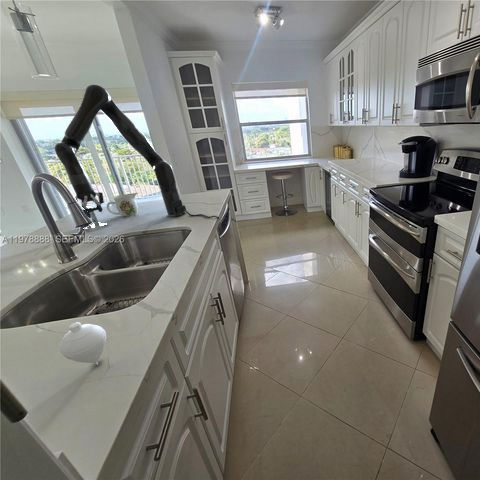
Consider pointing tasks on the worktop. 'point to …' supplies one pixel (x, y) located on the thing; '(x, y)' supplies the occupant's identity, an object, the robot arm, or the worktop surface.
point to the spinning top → (83, 343)
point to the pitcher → (125, 205)
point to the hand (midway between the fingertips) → (94, 213)
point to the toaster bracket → (94, 220)
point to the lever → (93, 209)
